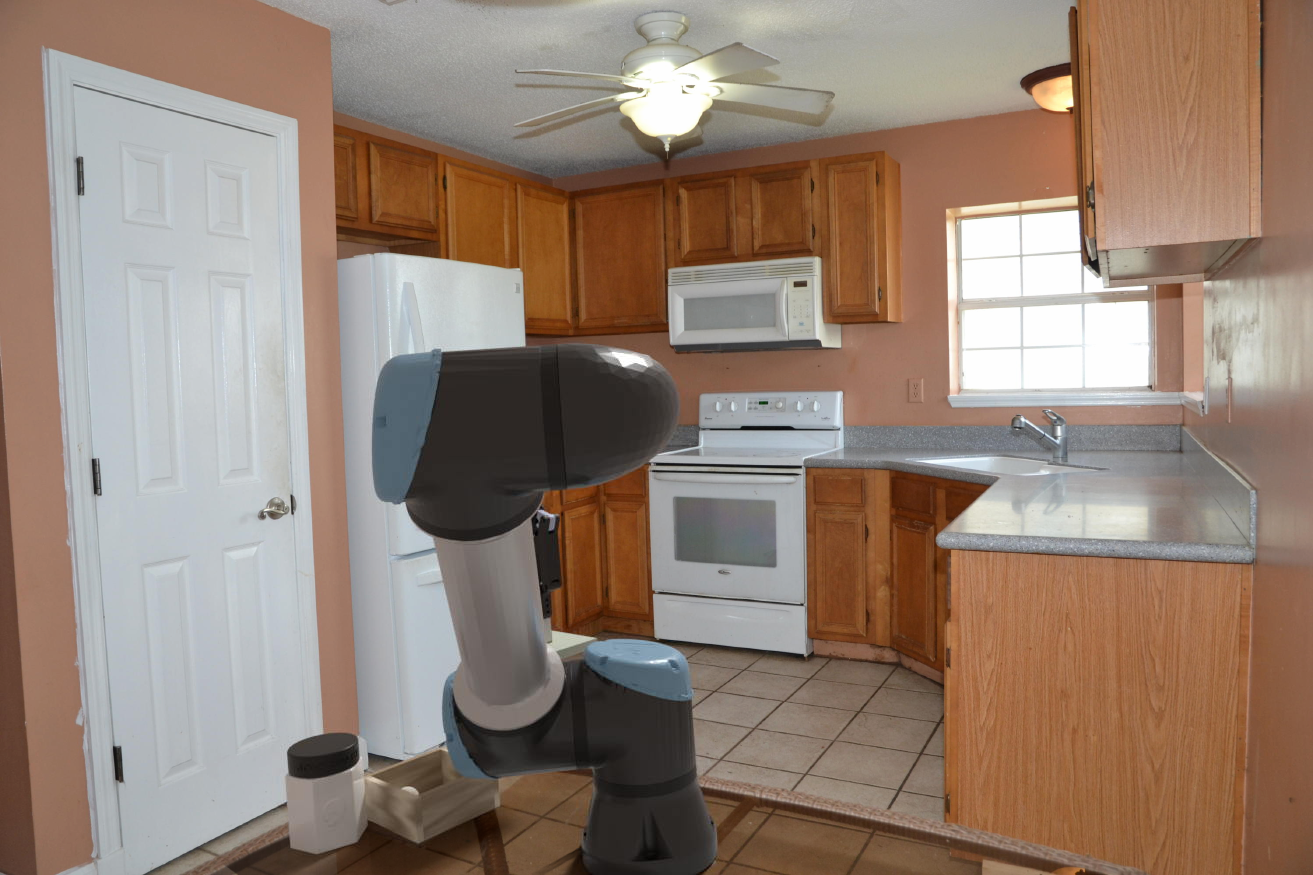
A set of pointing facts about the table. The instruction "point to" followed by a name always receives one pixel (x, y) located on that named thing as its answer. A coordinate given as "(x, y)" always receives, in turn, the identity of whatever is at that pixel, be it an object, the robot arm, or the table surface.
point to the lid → (569, 643)
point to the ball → (411, 790)
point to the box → (426, 796)
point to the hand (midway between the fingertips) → (528, 639)
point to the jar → (325, 792)
